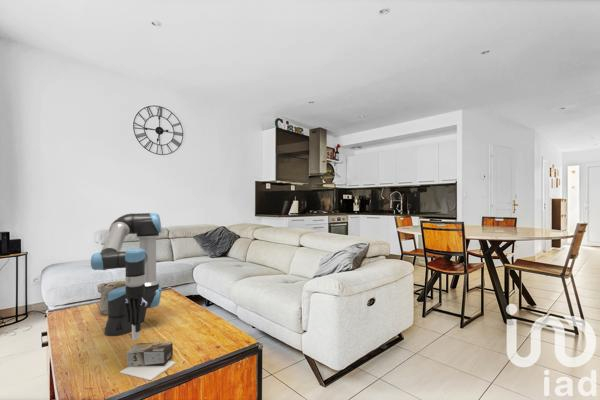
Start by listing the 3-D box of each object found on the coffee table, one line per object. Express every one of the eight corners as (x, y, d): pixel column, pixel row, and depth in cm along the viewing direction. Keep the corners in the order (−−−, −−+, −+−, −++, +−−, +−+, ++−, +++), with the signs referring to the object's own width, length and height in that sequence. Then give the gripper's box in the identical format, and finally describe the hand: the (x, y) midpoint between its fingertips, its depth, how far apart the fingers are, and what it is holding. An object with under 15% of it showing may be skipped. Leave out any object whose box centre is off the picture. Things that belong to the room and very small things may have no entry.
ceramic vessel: (124, 289, 217) (135, 264, 208) (137, 316, 206) (149, 291, 197) (88, 297, 198) (98, 270, 190) (100, 327, 187) (112, 300, 179)
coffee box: (126, 367, 129) (164, 366, 129) (126, 352, 129) (163, 351, 129) (138, 356, 138) (173, 355, 138) (138, 342, 138) (172, 341, 138)
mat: (119, 372, 125) (119, 372, 125) (146, 356, 138) (146, 355, 138) (150, 381, 120) (150, 380, 120) (176, 363, 133) (176, 362, 133)
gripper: (116, 285, 130) (117, 340, 130) (139, 288, 126) (139, 344, 126) (131, 281, 137) (132, 333, 137) (153, 283, 133) (154, 337, 133)
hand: (135, 338), depth 131 cm, fingers closed
